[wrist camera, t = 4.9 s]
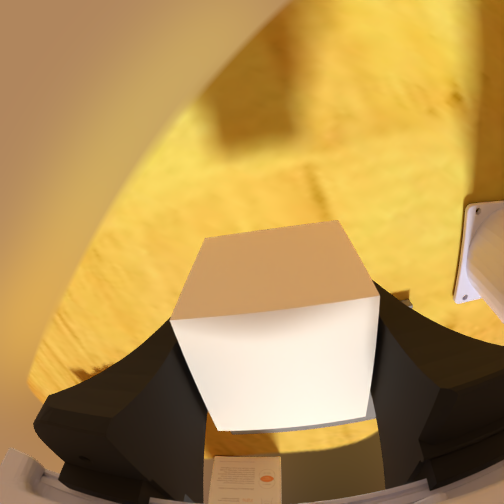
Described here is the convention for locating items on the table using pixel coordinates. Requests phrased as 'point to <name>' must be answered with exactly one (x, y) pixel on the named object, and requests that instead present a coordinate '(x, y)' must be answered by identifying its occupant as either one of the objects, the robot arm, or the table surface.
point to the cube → (279, 327)
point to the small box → (245, 480)
